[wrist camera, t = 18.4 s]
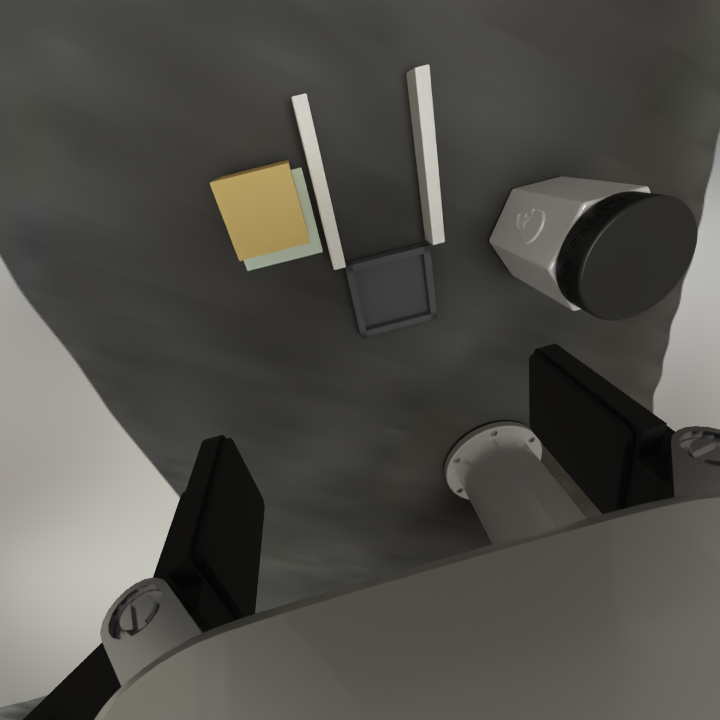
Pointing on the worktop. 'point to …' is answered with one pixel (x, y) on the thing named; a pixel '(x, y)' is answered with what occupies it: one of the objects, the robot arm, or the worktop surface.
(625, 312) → the jar
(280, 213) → the block
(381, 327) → the tray
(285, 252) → the coaster
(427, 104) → the channel
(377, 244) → the worktop surface
